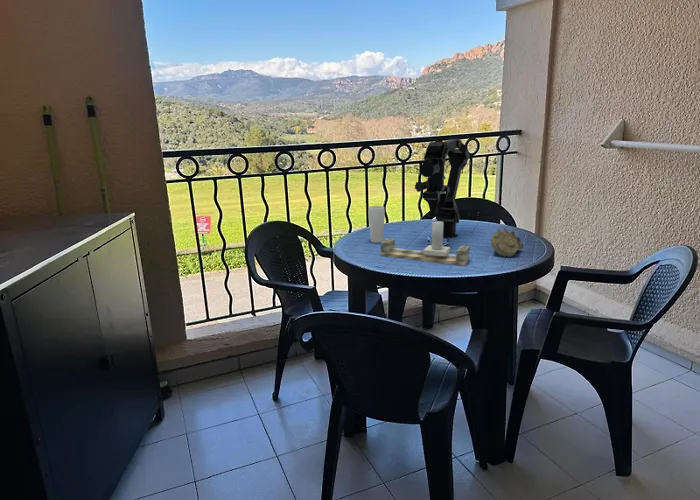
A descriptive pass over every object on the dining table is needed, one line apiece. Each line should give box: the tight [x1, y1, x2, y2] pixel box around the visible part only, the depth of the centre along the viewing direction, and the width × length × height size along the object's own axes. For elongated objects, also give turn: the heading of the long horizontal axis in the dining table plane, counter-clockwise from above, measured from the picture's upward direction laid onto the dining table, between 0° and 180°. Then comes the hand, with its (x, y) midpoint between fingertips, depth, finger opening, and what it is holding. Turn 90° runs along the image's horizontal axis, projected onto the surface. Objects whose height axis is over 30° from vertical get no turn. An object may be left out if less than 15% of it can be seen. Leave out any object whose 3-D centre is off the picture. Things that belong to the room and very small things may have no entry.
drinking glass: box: [367, 205, 386, 244], centre depth 185 cm, size 7×7×15 cm
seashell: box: [490, 227, 524, 258], centre depth 166 cm, size 11×14×10 cm
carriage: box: [423, 220, 451, 256], centre depth 160 cm, size 8×7×12 cm
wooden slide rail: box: [379, 237, 471, 267], centre depth 164 cm, size 32×8×6 cm, turn 63°
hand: (435, 212), depth 179 cm, fingers open, 9 cm apart
